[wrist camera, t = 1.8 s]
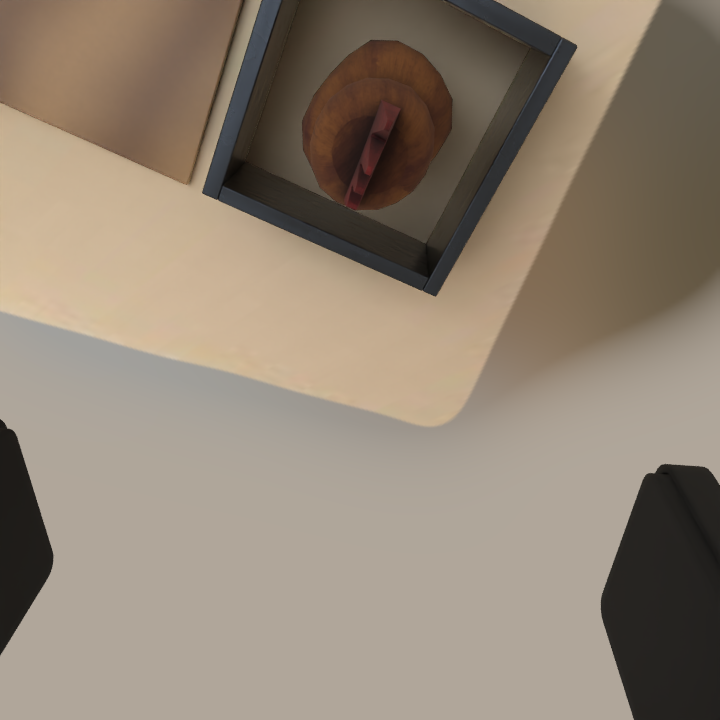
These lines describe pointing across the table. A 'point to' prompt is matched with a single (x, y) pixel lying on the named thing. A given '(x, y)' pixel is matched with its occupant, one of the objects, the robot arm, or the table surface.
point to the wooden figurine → (376, 125)
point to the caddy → (345, 226)
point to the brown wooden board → (119, 72)
